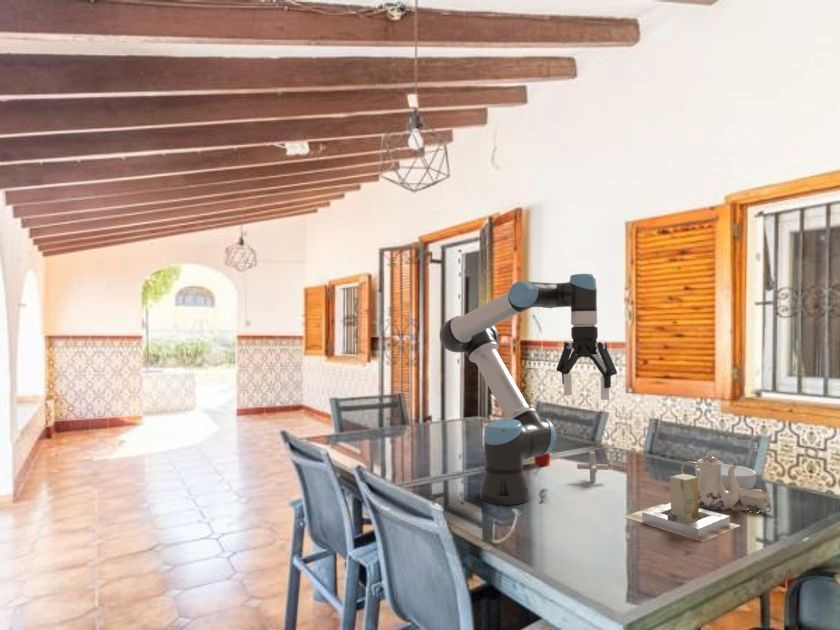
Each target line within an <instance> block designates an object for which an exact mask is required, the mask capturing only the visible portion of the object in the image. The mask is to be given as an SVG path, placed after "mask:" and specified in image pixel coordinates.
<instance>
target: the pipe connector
mask: <svg viewBox="0 0 840 630" xmlns="http://www.w3.org/2000/svg"><path fill="white" fill-rule="evenodd" d="M576 466H577V467H576V468H577V469H578V470H589V482H590V483H593V484H594V483H596V482H597V481H596V480H597V479H596V476H597V475H596V474H597V472H598V470H600V471H602V470H605V471H608V470H609V464H607V463H606V464H602V463H601V464H600V463H596V452H595V451H589V460H588V462H587V463H576Z"/></svg>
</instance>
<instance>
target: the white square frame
mask: <svg viewBox="0 0 840 630" xmlns="http://www.w3.org/2000/svg"><path fill="white" fill-rule="evenodd" d="M642 522H645V523H648V524H651V525H654V526H658V527H661V528H664V529H667V530H670V531H674V532H677V533H680V534H683V535H686V536H689V537H693V538H696V539H700V538H702V537H705V536H707V535H709V534H712V533H714V532H717V531H719V530H721V529H724V528H726V527H728V526H730V523H731V519H730V515H726V514H723V513H719V512H716V511H713V510H709V509H704V508H701V507H699V520H698V521H696V522H693V523H692V522H689V521H685V520H682V519H678V518H677V515H674V514H671V502H669V503H665V504H664V505H662V506H659V507H656V508H653V509H650V510H647V511H644V512H642ZM642 522H641V523H642ZM645 523H644V524H645ZM648 524H647V525H648ZM651 525H650V526H651ZM654 526H653V527H654ZM658 527H657V528H658ZM661 528H660V529H661ZM664 529H663V530H664ZM667 530H666V531H667ZM670 531H669V532H670ZM674 532H673V533H674ZM677 533H676V534H677ZM680 534H679V535H680ZM683 535H682V536H683ZM686 536H685V537H686ZM689 537H688V538H689ZM693 538H692V539H693ZM696 539H695V540H696Z"/></svg>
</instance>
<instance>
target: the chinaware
mask: <svg viewBox="0 0 840 630" xmlns="http://www.w3.org/2000/svg"><path fill="white" fill-rule="evenodd" d="M706 455H707V456H704V457H703V458H702V459H697V461H686V462H684V463H683V464H682V465H681V466H680V474H684V467H685V466H687V465H689V464H694V465H693V468H694V470H695V469H697V468H699V467H700V477H699V478H698V501H699V508H701V509H705V510H709V511H724V510H725V511H726V510H728V509H730V508H731V507H733V506H735V505H736V504H737V503H738V502H739V501H740V503H741V504H742V505H743V507H745V508H746V509H747V510H749V511H748V513H751V512H755V513H754V514H756V513H757V512H759V511H760V512H761V513H760V514H764V513H765V512H766V513H770V512H772V509H773V507H772V506H773V505H772V503H771V501H770V499H771V498H772V496H773V495H772V493H770V492H764V491H763V490H761V489H755V488H753V489H750V490H747V489H742V488H741V489H739V486H738V483H737V480H736V478H735V475H734V469H735V468H736V467H737V466H738V465H736V464H732V465H733V466H731V467H730V468H729V470H728V476H729V483H730V491H727V490H726V489H725V488H724V485H723V482H722V478H721V467H722V464H724V462H722V461H720V460H718V459H717V458H716V457H715V456H713V454H712V452H711V451H709V452H708V453H707V454H706ZM768 505H769V510H766V509H765V508H766V507H767V506H768ZM750 511H751V512H750ZM757 514H758V513H757Z"/></svg>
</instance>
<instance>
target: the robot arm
mask: <svg viewBox="0 0 840 630" xmlns="http://www.w3.org/2000/svg"><path fill="white" fill-rule="evenodd" d="M508 290H509V291H507V292H506V293H503V294H501V295H499V296H498V297H496V298H494V299H491V300H490V301H488V302H486V303H485V304H483V305H480V306H479V307H477V308H475V309H473V310H471V311H469V312H468V313H466V314H464V315H456V316H454V317H452V318H450V319H449V320H447V321H445V322H444V323H443V324H442V325H441V328H440V330H439V340H440V343H441V345H442V346H443V348H444V349H445V350H447V351H449V352H453V353H465V354H466V356H467V358H468V359H469V361H470V362H471V363H475V364H476V366H477V367H478V369H479V371H480V373H481V374H482V377H483V379H484V380H485V383H487V386H488V387H489V388H488V389H490V391H491V394H492V395H493V397H494V399H495V400H496V402H497V404H498V406H499V407H500V409H501V412H502V413H503V415H504V417H505V418H504V419H496V420H494V421H493V420H492V421H491V422H489V423H488V424H486V425H485V427H484V435H483V441H484V446H483V447H484V471H485V472H484V475H483V479H482V482H481V487H480V488H479V499H480V500H482V501H483V500H484V501H483V502H485V501H486V503H488V502H489V503H490V504H492V503H493V505H500V506H509V505H510V506H512V505H520V504H523V503H526V502H528V501H529V499H530V490H529V488H528V485H527V481H526V479H525V476H524V469H523V467H524V465H523V461H524V460H528V459H532V458H534V457H539V456H542V455H544V454H547V453H549V452H550V453H551V451H553V449H554V447H555V444H556V440H557V432H556V429H555V426H554V424H553V423H552V422H551V421H550V420H548V419H546V418H544V417H541V416H540V414H539V413H538V411H537V410H536V408H532V407H530V406H529V404H528V403H527V401H526V400H525V398H524V395H523V394H522V393H521V391H520V389H519V387H518V386H517V384H516V382H515V380H514V379H513V377H512V375H511V373H510V371H509V370H508V368H507V367H506V365H505V363H504V361H503V360H502V358H501V356H500V354H499V352H498V349H499V344H498V343H499V338H498V337H499V333H498V331H497V328H496V325H498V324H500V323H503V322H504V321H506V320H508V319H510V318H512V317H514V316H517V315H518V314H521V313H523V312H525V311H527V310H529V309H531V308H545V309H553V308H566V307H567V308H568V307H570V325H571V328H570V329H571V331H570V333H571V334H570V335H571V339H572V341H565V342H564V343H563V349H562V353H561V355H560V359H559V360H558V364H557V365H556V366H557V367H556V371H557V372H559V373H561V382H562V385H563V396H565V397H566V396H572V395H573V387H572V386H573V383H572V379H573V377H572V373H571V370H572V369H573V367H574V366H575V364H576V363H577V362H578V360H579V359H580V358H589V359H590V360H591V361H592V362H593V364H594V365H595V366H596V368H597V370H598V371H599V372H600V374H601V375H602V376H600V400H601V401H604V400H605V401H606V400H610V389H611V387H612V381H611V379H612V376H615V375H617V374H618V371H617V369H616V366H615V364H614V361H613V360H612V357H611V354H610V353H609V351H608V345H607V344H608V343H606V341H602V342H597V339H598V336H599V334H598V329H599V328H598V327H597V326H596V325H597V324H598V307H597V306H598V305H597V304H598V303H597V301H598V300H597V299H598V296H597V295H598V294H597V292H598V287H597V278H596V276H595V275H594V274H593V273H578V274H577V273H575V274H572V275H571V276H569V281H568V282H557V283H554V282H538V281H529V280H522V281H516V282H514V283H513V284H512V285H511V286H510V288H509V289H508Z"/></svg>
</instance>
